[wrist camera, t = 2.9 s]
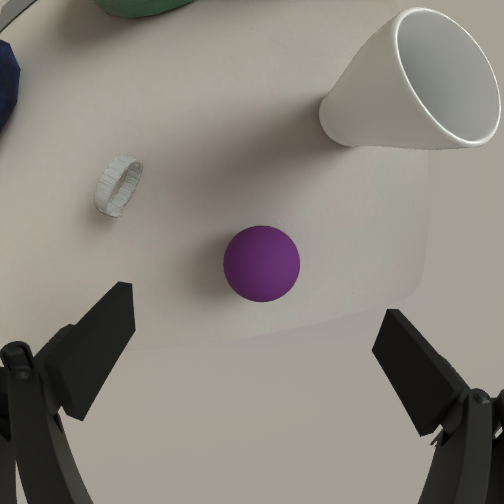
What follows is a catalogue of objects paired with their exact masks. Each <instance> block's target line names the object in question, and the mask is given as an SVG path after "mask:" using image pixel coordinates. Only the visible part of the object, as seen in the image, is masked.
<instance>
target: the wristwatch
mask: <svg viewBox="0 0 504 504" xmlns="http://www.w3.org/2000/svg"><path fill="white" fill-rule="evenodd" d="M128 167H129V168H128ZM127 168H128V169H129V170H128V171H127V174H126V175H127V176H126V177H125V180H124V182H123V184H122V186H121V188H120V189H119V191H118V192H117V194H118V195H117V194H116V195H115V196H114V198H113V199H112V200H109V198H110V195H111V193H112V190H113V188H114V186H115V185H116V183H117V181H118V180H119V178H120V176H122V174H123V173H124V171H125V170H126V169H127ZM142 168H143V165H142V162H140V161H138V160H136V159H134V158H132V157H131V156H129V155H126V154H123V155H122V154H121V155H119V156H118V157H116V158H115V159H114V160H113V162H112V163H111V164H110V165H109V167H108V169H107V170H106V171H105V172H104V174H103V176H102V177H101V179H100V181H99V184H98V185H97V188H96V191H95V194H94V205H95V207H96V208H97V209H98V210H99V211H100V212H102V213H104V214H106V215H108V216H111V217H123V214H122V210H123V208H124V206H125V204H126V203H127V202H128V201H127V200H129V199H130V197H131V196H132V195H131V194H133V192H134V190H135V188H136V186H137V184H138V181H139V179H140V175H141V172H142ZM125 188H126V189H125Z"/></svg>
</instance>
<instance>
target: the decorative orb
mask: <svg viewBox="0 0 504 504" xmlns="http://www.w3.org/2000/svg"><path fill="white" fill-rule="evenodd" d="M20 70H21V69H20V67H19V65H18V63H17V60H16V58H15V56H14V54H13V51H12V49H11V46H10V44H9V43H7V42H5V41H3V40H0V132H1V130H2V128H3V126H4V124H5V122H6V120H7V118H8V116H9V115H10V113H11V111H12V109H13V107H14V106H15V104H16V102H17V94H18V84H19V77H20Z"/></svg>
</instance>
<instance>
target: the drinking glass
mask: <svg viewBox="0 0 504 504" xmlns="http://www.w3.org/2000/svg"><path fill="white" fill-rule="evenodd" d="M500 114H501V101H500V93H499V88H498V84H497V81H496V78H495V75H494V72H493V70H492V68H491V65H490V63H489V61H488V59H487V58H486V56H485V54H484V53H483V51H482V50H481V48H480V47H479V45H478V44H477V43H476V41H475V40H474V39H473V38H472V37H471V36H470V34H469V33H467V32H466V31H465V30H464V29H463V28H462V27H461V26H460V25H459V24H457V23H456V22H455V21H453V20H452V19H451V18H449V17H447V16H446V15H444V14H442V13H439V12H437V11H434V10H432V9H428V8H423V7H413V8H408V9H406V10H403V11H402V12H400V13H399V14H398V15H396V16H395V17H394V18H392V19H391V20H390V21H388V22H387V23H386V24H385V25H383V26H382V27H381V28H380V29H379V30H378V31H377V32H375V33H374V34H373V35H372V36H371V37H370V38H369V39H368V40H367V41H366V43H365V44H364V45H363V46H362V47H361V48H360V50H359V51H358V52H357V54H356V55H355V56H354V58H353V59H352V61H351V62H350V63H349V65H348V66H347V68H346V69H345V71H344V72H343V74H342V75H341V77H340V78H339V79H338V81H337V82H336V84H335V85H334V87H333V88H332V89H331V91H330V92H329V93H328V94H327V95H326V96H325V97H324V98H323V100H322V102H321V104H320V107H319V120H320V123H321V126H322V128H323V130H324V131H325V133H326V134H327V135H328V136H329V137H330V138H331V139H332V140H333V141H335V142H337V143H339V144H341V145H344V146H350V147H355V146H381V147H394V148H405V149H420V150H441V149H458V148H468V147H469V148H470V147H479V146H481V145H484V144H485V143H487V142H488V141H489V140H490V139H491V138H492V137H493V135H494V134H495V132H496V130H497V128H498V125H499V120H500Z"/></svg>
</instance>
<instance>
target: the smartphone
mask: <svg viewBox="0 0 504 504" xmlns="http://www.w3.org/2000/svg"><path fill="white" fill-rule="evenodd" d="M34 1H36V0H9V1H8V2H7V3H6V4H5V5H4V6H3V7H2V10H1V14H0V32H1V31H2V30H3V29H4V28H5V27H6V26H7V25H8V24H9V23H10V22H11V21H12V20H13V19H14V18H15V17H17V16H18V15H19V14H20V13H21V12H22V11H23V10H25V9H26V8H27V7H28V6H29V5H31V4H32V3H33V2H34Z"/></svg>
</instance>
